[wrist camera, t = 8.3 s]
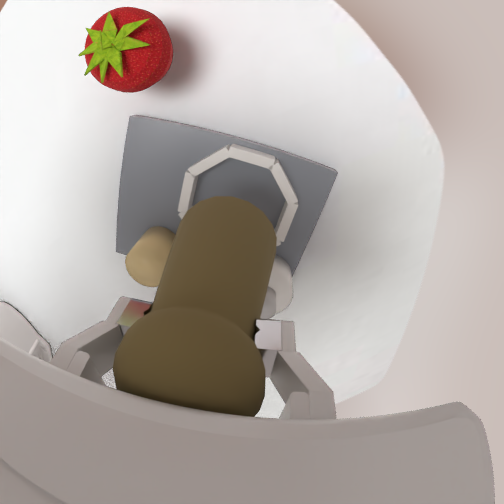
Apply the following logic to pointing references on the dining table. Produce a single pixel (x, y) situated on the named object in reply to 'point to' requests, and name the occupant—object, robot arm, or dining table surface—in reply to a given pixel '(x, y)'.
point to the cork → (205, 314)
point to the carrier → (209, 185)
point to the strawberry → (128, 49)
